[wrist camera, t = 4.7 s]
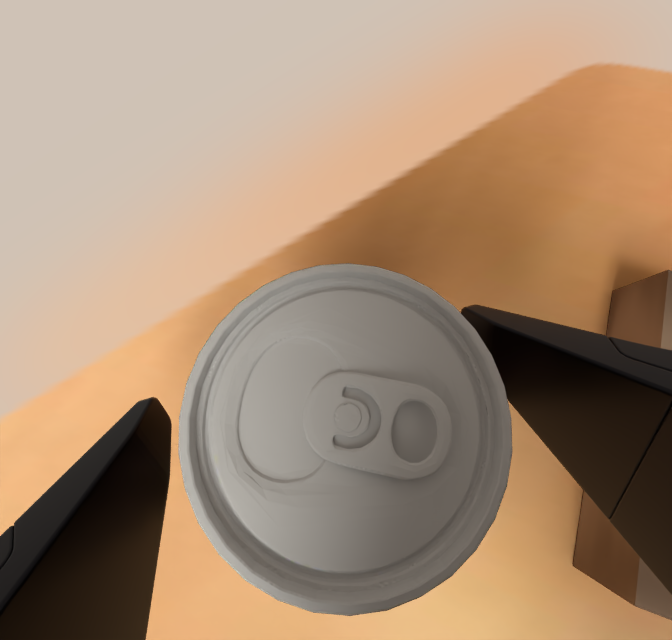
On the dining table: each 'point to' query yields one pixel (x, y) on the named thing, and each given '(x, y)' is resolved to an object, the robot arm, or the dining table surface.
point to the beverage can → (345, 439)
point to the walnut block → (594, 527)
